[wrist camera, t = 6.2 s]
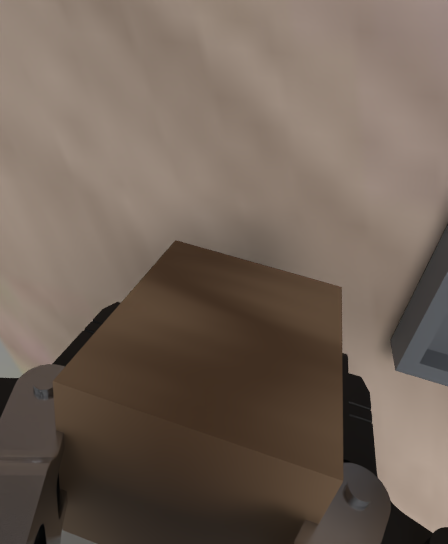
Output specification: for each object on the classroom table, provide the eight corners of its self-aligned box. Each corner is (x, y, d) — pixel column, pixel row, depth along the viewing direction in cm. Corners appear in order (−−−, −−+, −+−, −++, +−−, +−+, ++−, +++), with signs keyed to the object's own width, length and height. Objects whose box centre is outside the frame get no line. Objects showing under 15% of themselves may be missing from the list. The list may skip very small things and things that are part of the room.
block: (160, 361, 14) (62, 529, 9) (175, 240, 12) (52, 381, 7) (294, 405, 14) (268, 611, 9) (341, 287, 11) (342, 481, 6)
